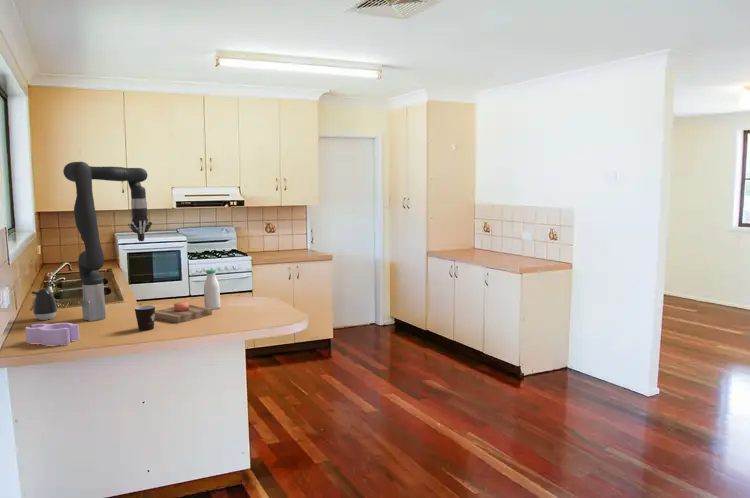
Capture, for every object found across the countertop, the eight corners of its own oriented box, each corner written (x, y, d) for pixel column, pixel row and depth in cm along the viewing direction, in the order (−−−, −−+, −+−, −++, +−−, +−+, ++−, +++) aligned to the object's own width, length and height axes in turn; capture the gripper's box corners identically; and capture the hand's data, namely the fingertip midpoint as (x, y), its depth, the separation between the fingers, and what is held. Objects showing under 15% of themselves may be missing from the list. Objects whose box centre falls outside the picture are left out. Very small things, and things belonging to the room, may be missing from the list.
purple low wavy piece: (20, 346, 250) (18, 329, 249) (39, 338, 262) (38, 322, 261) (65, 347, 247) (64, 330, 247) (83, 338, 260) (82, 323, 259)
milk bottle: (223, 307, 315) (221, 269, 313) (212, 310, 309) (210, 271, 306) (213, 306, 320) (211, 268, 317) (201, 308, 313) (199, 270, 311)
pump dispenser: (30, 319, 296) (27, 288, 294) (53, 315, 303) (50, 285, 301) (37, 322, 289) (35, 291, 287) (61, 318, 296) (58, 288, 295)
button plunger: (180, 311, 292) (180, 305, 292) (171, 310, 296) (170, 304, 296) (192, 309, 298) (192, 303, 297) (183, 307, 302) (182, 301, 301)
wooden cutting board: (178, 323, 283) (178, 316, 283) (151, 318, 295) (151, 311, 294) (212, 314, 300) (211, 308, 300) (185, 310, 311) (185, 304, 311)
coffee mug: (144, 332, 268) (142, 310, 267) (131, 330, 272) (130, 308, 271) (166, 326, 278) (164, 305, 276) (153, 324, 282) (152, 303, 281)
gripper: (132, 208, 304) (134, 242, 306) (154, 206, 315) (156, 240, 317) (123, 208, 308) (125, 242, 310) (145, 206, 319) (147, 239, 321)
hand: (141, 241), depth 314 cm, fingers closed
